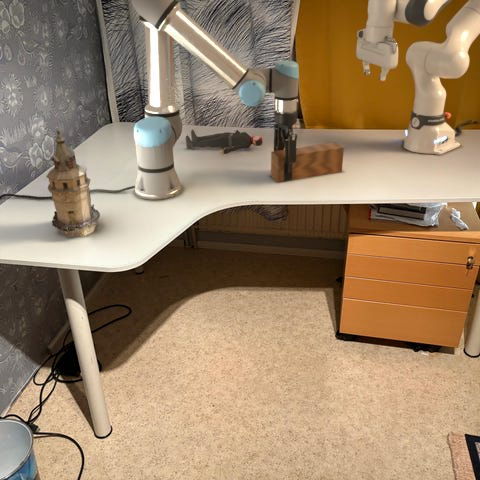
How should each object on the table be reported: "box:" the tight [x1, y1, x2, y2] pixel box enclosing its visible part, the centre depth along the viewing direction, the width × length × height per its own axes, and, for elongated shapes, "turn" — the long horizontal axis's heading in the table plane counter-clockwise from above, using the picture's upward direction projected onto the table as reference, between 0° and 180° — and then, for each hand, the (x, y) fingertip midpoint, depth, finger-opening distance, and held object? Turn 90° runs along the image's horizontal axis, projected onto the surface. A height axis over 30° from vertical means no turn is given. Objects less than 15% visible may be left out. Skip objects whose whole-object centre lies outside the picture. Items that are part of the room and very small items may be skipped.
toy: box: [185, 129, 264, 156], centre depth 213 cm, size 26×6×30 cm
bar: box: [270, 142, 345, 183], centre depth 187 cm, size 25×6×9 cm, turn 110°
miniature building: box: [46, 129, 101, 237], centre depth 148 cm, size 13×14×30 cm
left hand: (283, 176), depth 187 cm, fingers closed on bar, 6 cm apart
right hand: (374, 77), depth 184 cm, fingers open, 8 cm apart
